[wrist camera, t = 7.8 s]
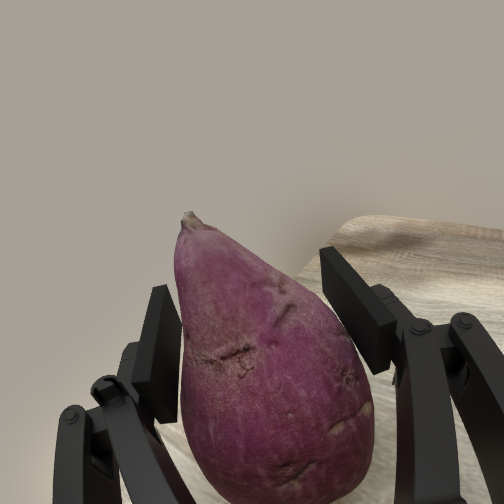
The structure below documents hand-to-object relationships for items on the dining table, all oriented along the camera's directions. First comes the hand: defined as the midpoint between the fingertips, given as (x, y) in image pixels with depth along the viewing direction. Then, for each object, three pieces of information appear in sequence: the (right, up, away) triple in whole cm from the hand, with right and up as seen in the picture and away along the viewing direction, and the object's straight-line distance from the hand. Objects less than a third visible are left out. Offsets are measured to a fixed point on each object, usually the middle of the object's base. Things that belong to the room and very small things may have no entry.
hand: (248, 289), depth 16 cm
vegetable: (+2, -9, -1) cm, 9 cm away
